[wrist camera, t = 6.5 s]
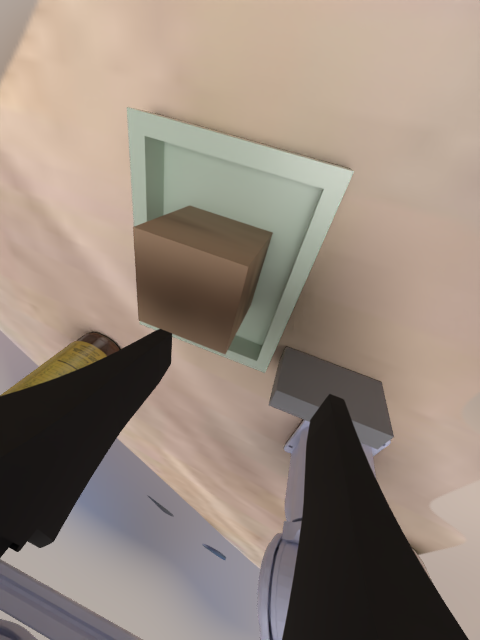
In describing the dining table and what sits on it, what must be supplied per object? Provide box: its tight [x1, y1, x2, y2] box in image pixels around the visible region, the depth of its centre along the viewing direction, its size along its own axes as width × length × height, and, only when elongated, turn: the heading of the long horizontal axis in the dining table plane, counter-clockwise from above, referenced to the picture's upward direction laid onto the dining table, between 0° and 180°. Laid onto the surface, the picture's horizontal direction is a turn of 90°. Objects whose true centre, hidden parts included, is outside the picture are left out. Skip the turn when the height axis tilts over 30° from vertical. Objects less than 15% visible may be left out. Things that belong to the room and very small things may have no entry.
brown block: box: [133, 206, 273, 354], centre depth 16 cm, size 6×6×6 cm
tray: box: [127, 107, 354, 373], centre depth 17 cm, size 15×12×2 cm
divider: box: [269, 346, 394, 449], centre depth 19 cm, size 2×8×5 cm, turn 77°
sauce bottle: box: [0, 333, 119, 396], centre depth 22 cm, size 6×6×20 cm
